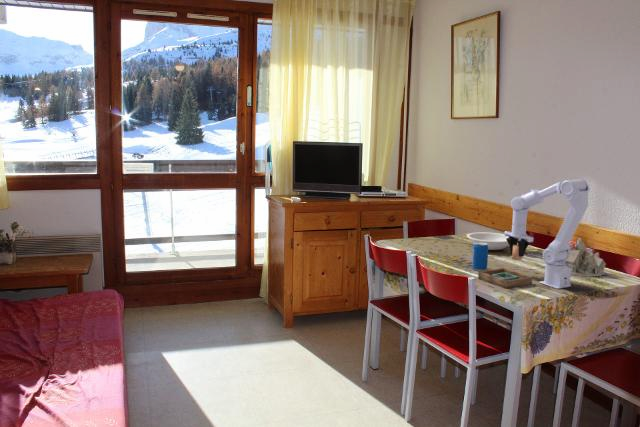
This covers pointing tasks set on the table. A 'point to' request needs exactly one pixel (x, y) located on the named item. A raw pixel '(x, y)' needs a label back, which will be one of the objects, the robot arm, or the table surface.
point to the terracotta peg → (516, 252)
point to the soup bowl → (490, 239)
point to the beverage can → (480, 256)
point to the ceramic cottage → (584, 261)
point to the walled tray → (505, 278)
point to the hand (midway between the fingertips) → (517, 255)
